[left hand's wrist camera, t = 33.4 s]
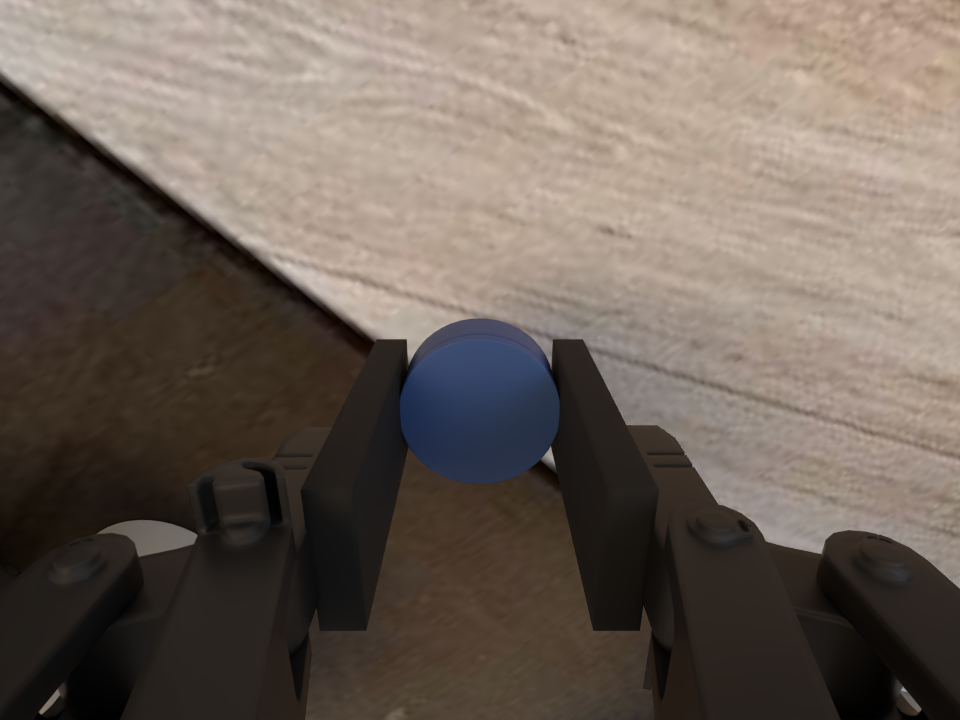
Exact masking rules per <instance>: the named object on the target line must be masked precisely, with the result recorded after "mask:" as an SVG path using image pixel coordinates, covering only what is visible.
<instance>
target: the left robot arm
mask: <svg viewBox="0 0 960 720" xmlns="http://www.w3.org/2000/svg"><path fill="white" fill-rule="evenodd" d="M551 371H552V374H553V377H554V380H555V384H556V387H557V390H558V394H559V397H560V411H559V427H558V432H557V435H556V437H555V439H554V441H553V443H552V445H551V448H552V453H553V457H554V461H555V466H556V470H557V474H558V479H559V483H560V487H561V492H562V496H563V500H564V505H565V509H566V513H567V518H568V522H569V527H570V531H571V535H572V540H573V544H574V548H575V553H576V557H577V561H578V566H579V570H580V574H581V579H582V583H583V587H584V592H585V596H586V601H587V605H588V609H589V614H590V618H591V622H592V627H593V631H640V625H641V618H642V610H643V605H644V608H645V610H646V613H647V616H648V619H649V622H650V625H651V628H652V632H651V639H650V646H649V652H648V659H647V666H646V672H645V679H644V686H643V689H649V690H650V689H651V684H652V693H653V703H654V712H655V720H960V589H959V588H958V587H957V586H956V585H955V584H954V583H952V582H951V581H950V580H949V579H948V578H947V577H946V576H945V575H943V574H942V573H941V572H940V571H939V570H938V569H937V568H936V567H934V566H933V565H932V564H931V563H930V562H929V561H928V560H926V559H925V558H923V557H922V556H921V555H919V554H918V553H916V552H915V551H913V550H912V549H911V548H909V547H907V546H905V545H903V544H900V543H898V542H896V541H894V540H892V539H890V538H888V537H885V536H882V535H877V534H874V533H869V532H862V531H851V530H847V531H842V532H837V533H833V534H832V535H831V536H830V537H829V538H828V539H826V541H825V544H824V548H823V551H822V554H817V553H813V552H808V551H803V550H798V549H793V548H789V547H784V546H780V545H776V544H773V543H769V542H766V541H765V539H764V537H763V535H762V533H761V532H760V530H759V529H758V527H757V526H756V525H755V523H754V522H752V521H751V520H750V519H748V518H747V517H745V516H744V515H743V514H741V513H739V512H737V511H735V510H732V509H730V508H728V507H725V506H722V505H718V503H717V502H716V500H715V499H714V497H713V496H712V494H711V493H710V491H709V489H708V488H707V486H706V485H705V483H704V482H703V480H702V479H701V477H700V476H699V474H698V472H697V471H696V469H695V468H694V467H692V463H691V462H690V460H689V459H688V457H687V456H686V455H684V451H683V449H682V448H681V446H680V445H679V443H678V442H677V440H676V439H675V438H674V437H673V436H672V435H670V434H669V433H667V432H666V431H664V430H663V429H661V428H660V427H658V426H657V425H626V424H625V422H624V420H623V418H622V416H621V414H620V412H619V410H618V408H617V406H616V404H615V402H614V400H613V398H612V396H611V394H610V392H609V390H608V388H607V386H606V384H605V382H604V380H603V378H602V376H601V374H600V372H599V370H598V369H597V367H596V365H595V363H594V361H593V359H592V357H591V355H590V353H589V351H588V349H587V347H586V345H585V343H584V341H583V339H553V349H552V369H551ZM407 372H408V356H407V339H377V340H376V342H375V344H374V346H373V348H372V350H371V352H370V354H369V356H368V358H367V360H366V362H365V364H364V366H363V368H362V370H361V372H360V374H359V376H358V378H357V380H356V382H355V384H354V385H353V387H352V389H351V391H350V393H349V395H348V397H347V399H346V401H345V403H344V405H343V407H342V409H341V411H340V413H339V415H338V417H337V419H336V421H335V423H334V425H333V427H302V428H301V429H300V430H298V431H297V432H295V433H294V434H292V435H291V436H290V437H288V438H287V439H285V440H284V442H283V443H282V445H281V446H280V448H279V450H278V451H277V453H276V454H275V455H276V456H275V457H273V459H272V460H269V459H266V458H241V459H236V460H230V461H226V462H223V463H221V464H218V465H215V466H213V467H210V468H208V469H207V470H205V471H204V472H202V473H200V474H199V475H197V476H196V477H195V478H194V479H193V480H192V481H191V483H190V484H189V485H188V486H187V490H188V494H189V498H190V503H191V507H192V512H193V516H194V520H195V525H196V529H197V533H198V536H197V538H196V540H195V543H194V544H192V545H189V546H185V547H181V548H178V549H173V550H168V551H164V552H159V553H154V554H149V555H145V556H140V557H138V553H137V549H136V546H135V543H134V542H133V541H132V540H131V539H130V538H129V537H127V536H126V535H121V534H116V533H104V534H93V535H89V536H84V537H82V538H81V537H80V538H77V539H74V540H71V541H69V542H67V543H65V544H63V545H61V546H59V547H57V548H55V549H53V550H51V551H49V552H48V553H46V554H45V555H44V556H42V557H41V558H39V559H38V560H36V561H35V562H34V563H32V564H31V565H30V566H29V567H28V568H27V569H26V570H25V571H23V572H22V573H21V574H20V575H19V576H18V577H17V578H16V579H14V580H13V581H12V582H11V583H10V584H9V585H8V586H7V587H6V588H4V589H3V590H2V591H1V592H0V720H305V714H306V704H307V694H308V685H309V675H310V665H311V656H312V653H311V646H310V639H309V632H308V629H309V627H310V624H311V621H312V618H313V615H314V612H315V609H316V606H317V613H318V620H319V627H320V631H366V629H367V625H368V621H369V616H370V612H371V608H372V603H373V599H374V595H375V590H376V586H377V582H378V577H379V573H380V568H381V564H382V560H383V555H384V551H385V547H386V542H387V538H388V534H389V529H390V525H391V521H392V516H393V512H394V508H395V503H396V499H397V495H398V490H399V486H400V481H401V477H402V473H403V468H404V464H405V460H406V455H407V451H408V447H409V446H408V444H407V443H406V441H405V438H404V436H403V434H402V431H401V417H400V394H401V391H402V388H403V384H404V381H405V378H406V375H407ZM57 689H58V691H59V694H60V696H59V697H58V698H57V699H56V701H55V702H54V703H53V704H52V705H51V706H50V707H49V708H48V709H47V710H46V711H45V712H44V713H43V714H42V715H41V714H40V713H39V711H40V710H41V709H42V708H43V706H44V705H45V704H46V703H47V702H48V700H49V699H50V698H51V697H52V695H53V694H54V693H55V692H56V691H57Z"/></svg>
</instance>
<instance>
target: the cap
mask: <svg viewBox="0 0 960 720" xmlns="http://www.w3.org/2000/svg"><path fill="white" fill-rule="evenodd" d="M559 411H560V397H559V394H558V390H557V387H556V384H555V380H554V377H553V374H552V371H551V367H550V364H549V362H548V360H547V358H546V355H545V354H544V352H543V351H542V349H541V348H540V347H539V345H538V344H537V343H536V342H535V341H534V340H533V339H532V338H531V337H530V336H529V335H527V334H526V333H525V332H523V331H521V330H520V329H518V328H516V327H514V326H512V325H510V324H507V323H504V322H501V321H497V320H492V319H481V318H480V319H468V320H462V321H458V322H455V323H452V324H449V325H447V326H445V327H443V328H441V329H439V330H438V331H436V332H435V333H433V334H432V335H431V336H430V337H428V338H427V339H426V340H425V341H424V342H423V343H422V345H421V346H420V347H419V348H418V350H417V351H416V353H415V354H414V356H413V358H412V360H411V362H410V365H409V368H408V372H407V375H406V378H405V381H404V384H403V388H402V391H401V394H400V417H401V431H402V434H403V436H404V438H405V441H406V443H407V444H408V446H409V448H410V449H411V451H412V452H413V453H414V454H415V456H416V457H417V458H418V459H419V460H420V461H421V462H422V463H423V464H425V465H426V466H427V467H429V468H430V469H431V470H433V471H435V472H436V473H438V474H440V475H442V476H444V477H447V478H449V479H452V480H456V481H459V482H465V483H472V484H488V483H495V482H500V481H504V480H507V479H510V478H513V477H515V476H518V475H519V474H521V473H523V472H525V471H527V470H528V469H529V468H531V467H532V466H534V465H535V464H536V463H537V462H538V461H539V460H540V459H541V458H542V457H543V456H544V455H545V453H546V452H547V451H548V450H549V448H550V446H551V445H552V443H553V441H554V439H555V437H556V435H557V432H558V427H559Z"/></svg>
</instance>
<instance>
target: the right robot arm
mask: <svg viewBox="0 0 960 720" xmlns="http://www.w3.org/2000/svg"><path fill="white" fill-rule="evenodd" d="M0 539H1V537H0ZM21 573H22V572H21V571H20V570H19V569H17V568H15V567H14V566H11V565H8V564H0V592H1V591H2V590H3V589H4V588H6V587H7V586H8V585H9V584H10V583H11V582H12V581H13V580H14V579H16V578H17V577H18V576H19V575H20V574H21Z"/></svg>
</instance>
